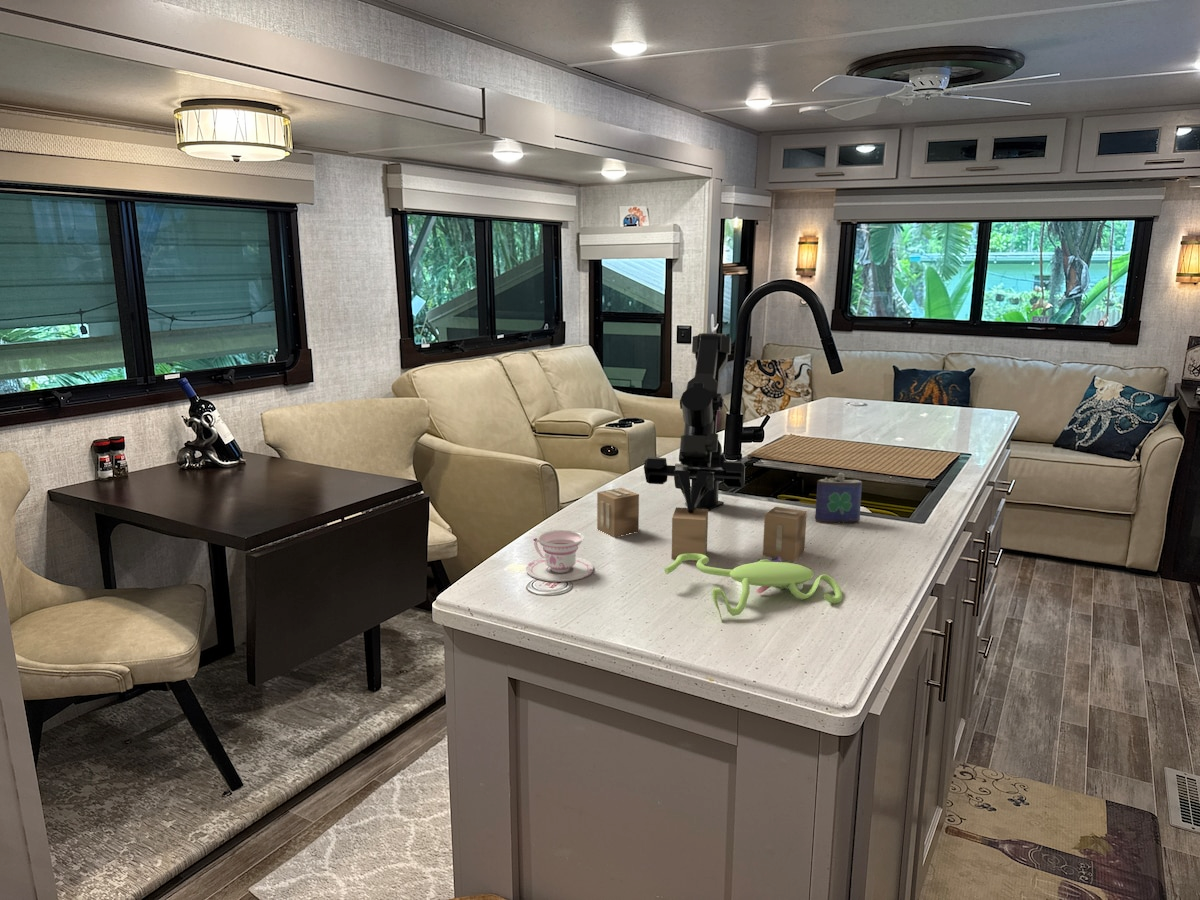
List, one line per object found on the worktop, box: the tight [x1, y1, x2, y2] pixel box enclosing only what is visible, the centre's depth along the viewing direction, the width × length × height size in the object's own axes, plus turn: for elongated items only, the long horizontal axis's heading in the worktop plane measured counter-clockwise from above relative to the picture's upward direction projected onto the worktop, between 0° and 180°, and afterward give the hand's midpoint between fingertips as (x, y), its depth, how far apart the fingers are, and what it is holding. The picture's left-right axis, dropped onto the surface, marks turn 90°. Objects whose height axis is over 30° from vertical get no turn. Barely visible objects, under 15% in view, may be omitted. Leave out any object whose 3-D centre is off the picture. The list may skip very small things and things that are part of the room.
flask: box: [814, 472, 863, 525], centre depth 171 cm, size 9×3×11 cm, turn 88°
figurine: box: [664, 553, 843, 622], centre depth 135 cm, size 18×27×6 cm
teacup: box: [525, 529, 595, 583], centre depth 144 cm, size 12×12×6 cm
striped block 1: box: [596, 487, 640, 538], centre depth 165 cm, size 6×6×8 cm
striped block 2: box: [762, 506, 807, 562], centre depth 152 cm, size 6×6×8 cm
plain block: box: [671, 507, 709, 562], centre depth 151 cm, size 6×6×8 cm
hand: (690, 511), depth 150 cm, fingers closed, pressing on plain block
